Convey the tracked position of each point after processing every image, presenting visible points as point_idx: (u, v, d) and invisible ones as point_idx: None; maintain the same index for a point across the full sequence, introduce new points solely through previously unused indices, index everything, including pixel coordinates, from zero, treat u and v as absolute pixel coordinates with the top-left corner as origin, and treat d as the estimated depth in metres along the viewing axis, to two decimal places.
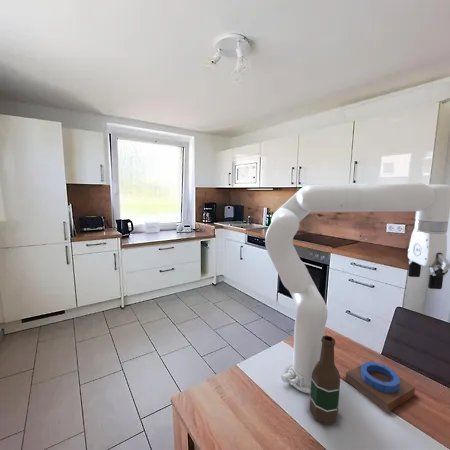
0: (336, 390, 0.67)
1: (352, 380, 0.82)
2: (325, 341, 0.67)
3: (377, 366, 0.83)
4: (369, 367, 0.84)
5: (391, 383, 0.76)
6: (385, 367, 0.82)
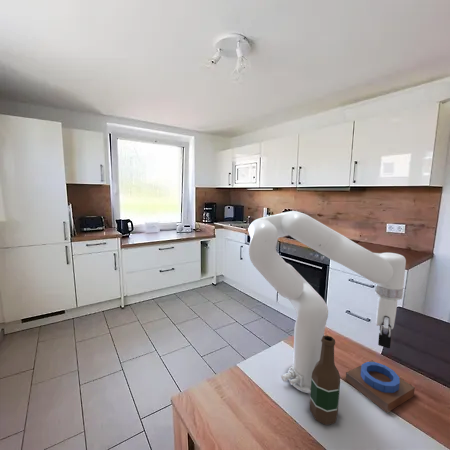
0: (336, 390, 0.67)
1: (352, 380, 0.82)
2: (325, 341, 0.67)
3: (377, 366, 0.83)
4: (369, 367, 0.84)
5: (391, 383, 0.76)
6: (385, 367, 0.82)
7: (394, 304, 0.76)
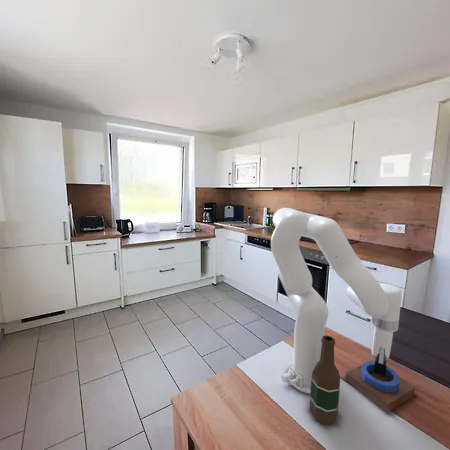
0: (336, 390, 0.67)
1: (352, 380, 0.82)
2: (325, 341, 0.67)
3: None
4: (369, 367, 0.84)
5: (391, 383, 0.76)
6: None
7: (390, 336, 0.77)
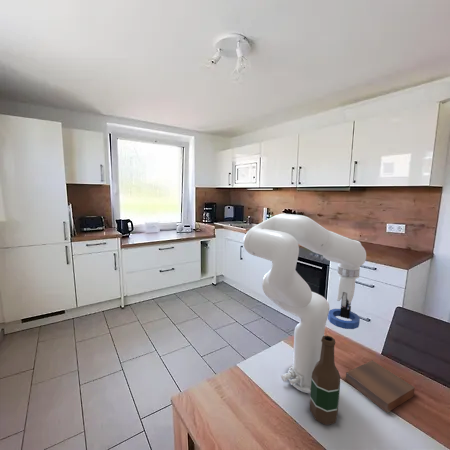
0: (336, 390, 0.67)
1: (352, 380, 0.82)
2: (325, 341, 0.67)
3: None
4: (336, 312, 0.96)
5: (351, 321, 0.88)
6: None
7: (351, 282, 0.90)
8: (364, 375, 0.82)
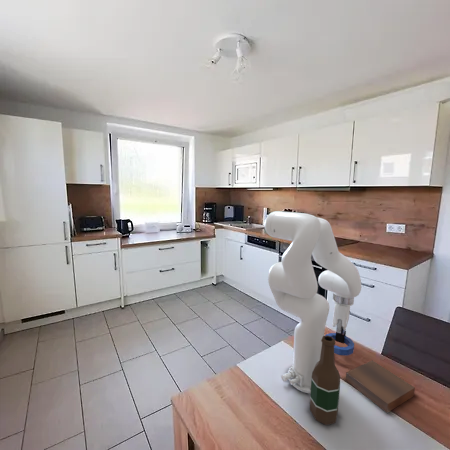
0: (336, 390, 0.67)
1: (352, 380, 0.82)
2: (325, 341, 0.67)
3: None
4: None
5: (346, 348, 0.92)
6: (345, 337, 0.98)
7: (345, 309, 0.93)
8: (364, 375, 0.82)
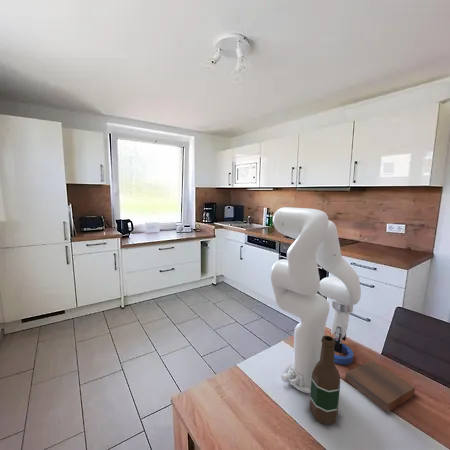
0: (336, 390, 0.67)
1: (352, 380, 0.82)
2: (325, 341, 0.67)
3: None
4: None
5: (345, 357, 0.92)
6: (344, 345, 0.99)
7: (345, 317, 0.93)
8: (364, 375, 0.82)
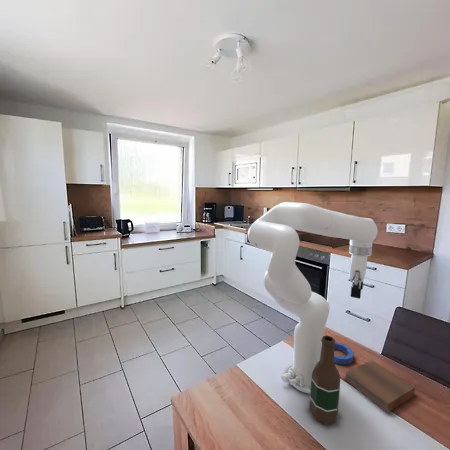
0: (336, 390, 0.67)
1: (352, 380, 0.82)
2: (325, 341, 0.67)
3: (337, 344, 1.00)
4: None
5: (345, 357, 0.92)
6: (344, 345, 0.99)
7: (364, 260, 0.88)
8: (364, 375, 0.82)
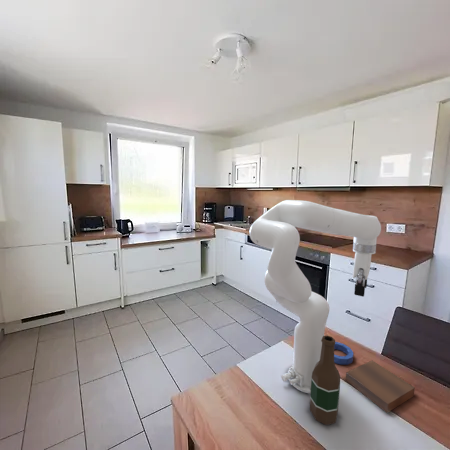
0: (336, 390, 0.67)
1: (352, 380, 0.82)
2: (325, 341, 0.67)
3: (337, 344, 1.00)
4: None
5: (345, 357, 0.92)
6: (344, 345, 0.99)
7: (367, 257, 0.88)
8: (364, 375, 0.82)
